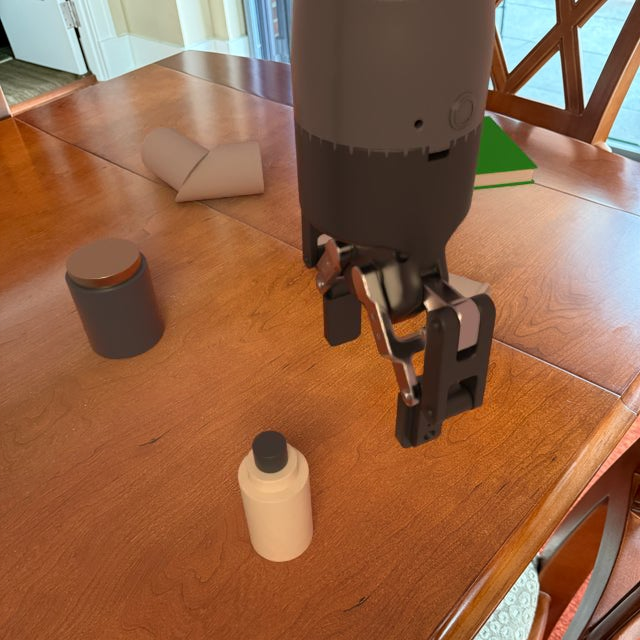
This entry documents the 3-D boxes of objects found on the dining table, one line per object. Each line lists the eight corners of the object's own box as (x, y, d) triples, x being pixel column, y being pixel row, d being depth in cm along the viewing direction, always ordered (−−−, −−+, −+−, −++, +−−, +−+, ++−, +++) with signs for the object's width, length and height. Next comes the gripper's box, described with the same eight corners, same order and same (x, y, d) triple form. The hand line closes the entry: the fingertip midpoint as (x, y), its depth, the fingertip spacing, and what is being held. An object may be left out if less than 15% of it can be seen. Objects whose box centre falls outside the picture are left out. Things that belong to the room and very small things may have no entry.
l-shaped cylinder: (138, 215, 94) (266, 201, 96) (124, 146, 89) (258, 133, 91) (151, 185, 109) (260, 174, 111) (138, 126, 104) (253, 115, 106)
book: (534, 183, 100) (537, 166, 98) (368, 200, 97) (368, 183, 95) (486, 129, 117) (488, 114, 115) (344, 143, 114) (344, 128, 112)
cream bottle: (272, 574, 50) (257, 488, 42) (238, 527, 54) (218, 438, 46) (326, 536, 53) (321, 448, 45) (289, 493, 56) (279, 404, 48)
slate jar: (106, 370, 69) (77, 292, 62) (79, 330, 75) (49, 254, 68) (176, 337, 73) (157, 260, 66) (146, 302, 79) (124, 227, 72)
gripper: (239, 66, 27) (269, 331, 38) (397, 203, 17) (380, 511, 28) (382, 41, 30) (373, 297, 40) (595, 149, 20) (510, 453, 30)
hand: (376, 385), depth 34 cm, fingers open, 8 cm apart
